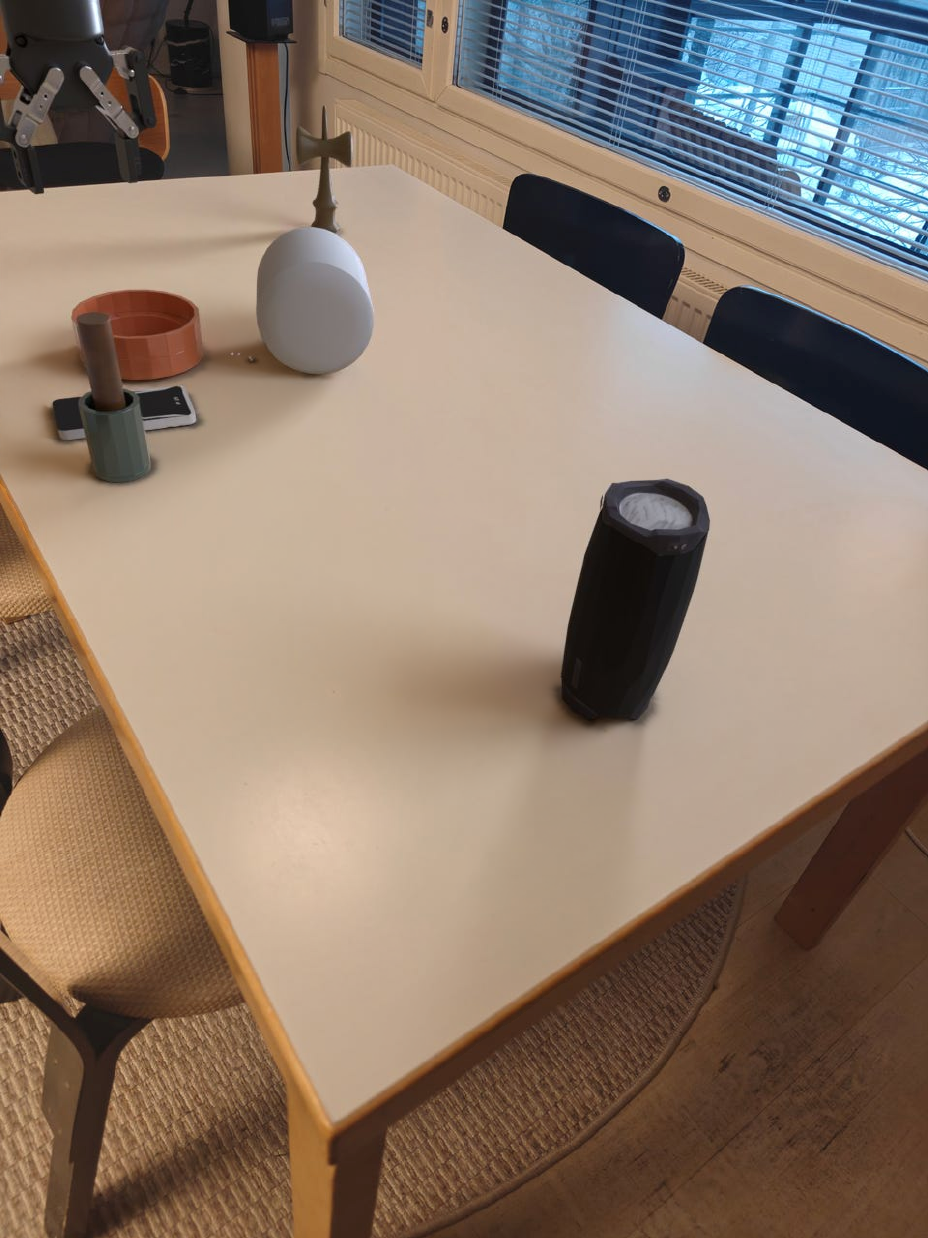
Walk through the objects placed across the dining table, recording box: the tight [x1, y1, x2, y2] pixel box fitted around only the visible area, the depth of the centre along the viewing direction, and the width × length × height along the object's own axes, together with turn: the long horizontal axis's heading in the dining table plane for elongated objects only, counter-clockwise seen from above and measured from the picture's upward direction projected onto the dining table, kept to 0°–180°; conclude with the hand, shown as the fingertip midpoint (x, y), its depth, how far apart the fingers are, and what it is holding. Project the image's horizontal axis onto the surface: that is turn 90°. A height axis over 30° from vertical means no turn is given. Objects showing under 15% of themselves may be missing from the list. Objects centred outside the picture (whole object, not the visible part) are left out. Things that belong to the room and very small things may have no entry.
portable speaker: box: [560, 478, 711, 721], centre depth 68 cm, size 9×9×20 cm
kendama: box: [295, 105, 354, 234], centre depth 149 cm, size 6×10×20 cm, turn 98°
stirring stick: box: [76, 312, 126, 412], centre depth 87 cm, size 3×3×16 cm
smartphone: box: [51, 385, 197, 441], centre depth 101 cm, size 8×1×15 cm
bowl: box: [71, 289, 205, 381], centre depth 111 cm, size 15×15×6 cm
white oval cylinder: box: [230, 226, 375, 375], centre depth 116 cm, size 19×15×25 cm
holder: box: [79, 387, 152, 483], centre depth 90 cm, size 6×6×8 cm
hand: (84, 186), depth 78 cm, fingers open, 8 cm apart
